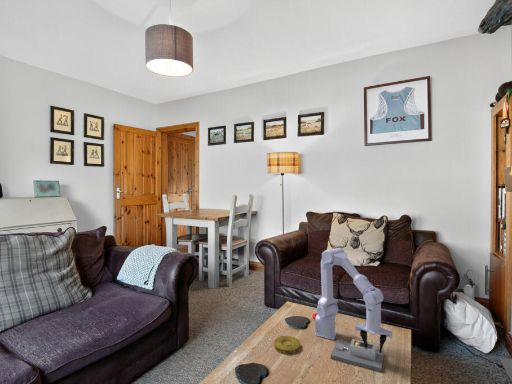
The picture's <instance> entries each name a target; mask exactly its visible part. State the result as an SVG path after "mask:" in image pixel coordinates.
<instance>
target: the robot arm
mask: <svg viewBox="0 0 512 384" xmlns="http://www.w3.org/2000/svg"><path fill="white" fill-rule="evenodd" d="M333 266H341V267H342V268H343V269H344V270H345V272H347V273H348V275H349V276H350V277H351V278H352V279H353V284H354V285H355V287H356V288H357V289H358V290H359V292H360V293H361V294H362V299H363V301H364V303H365V308H366V311H365V314H366V316H365V317H366V319H365V320H366V321H365V324H358V323H355V326H354V328H355V329H354V331H359V336H360V337H361V339H362V341H363V342H364V345H365V348H367V342H368V333H369V334H370V335H373V336H374V335H379V349H380V350H379V352H380V353H381V352H382V350H383V347H384V344H385V343H386V342H387V339H388V338H390V339H393V331H391V330H388V329H385V328H382V327H381V326H382V325H381V324H382V316H381V315H382V303H383V302H384V297H385V296H384V293H383V292H382V290H381V289H380V288H376V287H375V286H374V285H373V284H372V282H370V281H369V279H368V277H367V276H365V275H364V274H361V273H359V272H358V270H357V269H356V267H355V266H354V265H353V263H352V262H351V260H350V259H349V257H348V253H347V252H345V250H344V248H342V247H336V248H331V249H326V250H324V251H323V252H322V253H321V260H320V274H321V275H320V276H321V283H320V284H321V299H320V298H319V300H318V301H317V306H316V313H317V314H318V315H316V319H315V320H314V336H317V337H320V338H325V339H328V340H333V341H334V340H335V338H336V336H337V334H338V331H336V317H337V314H338V312H339V307H338V303H337V299H336V298H334V286H333V285H334V282H333V280H334V279H333V278H334V277H333Z"/></svg>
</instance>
